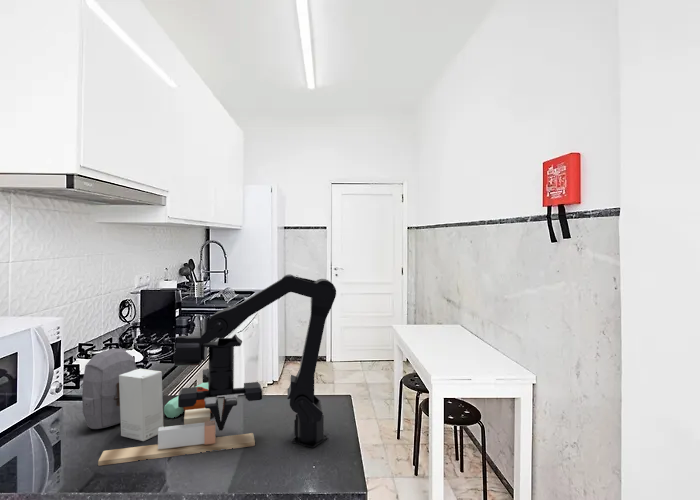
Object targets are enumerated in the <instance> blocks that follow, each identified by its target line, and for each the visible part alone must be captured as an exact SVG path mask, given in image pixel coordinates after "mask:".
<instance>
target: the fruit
mask: <svg viewBox="0 0 700 500" xmlns="http://www.w3.org/2000/svg"><path fill="white" fill-rule="evenodd" d="M198 391H209V390H208V389H205V388H203V387H197V392H198ZM202 408H205V399H204V400H196V404H195V405H194V406H192V407H183V409H184V411H185V410H192V409H202ZM210 414H212V412H211V410H210Z"/></svg>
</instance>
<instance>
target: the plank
mask: <svg viewBox="0 0 700 500" xmlns="http://www.w3.org/2000/svg"><path fill="white" fill-rule="evenodd" d="M255 442H256V440H255V437H254V433H253V432H249V433H243V434H242V433H241V434H233V435H226V436H217V437H216V436H215V443H214V444H206V445H205V444H199V445H190V446H182V447H174V448H166V449H158V443H157V444H149V445H139V446H134V447H133V446H132V447H131V446H130V447H125V448H115V449H109V450H108V449H107V450H103V451H102V453H101V455H100V457H99V459H98V462H97V465H98V466H100V467H101V466H107V465H116V464H123V463H129V462H130V463H131V462H139V461H138V460H140V461H145V460H146V459H148V460H154V459H162V458H163V459H164V458H170V457H177V456H185V454H187V455H192V454H193V455H194V454H201V453H200V452H202V453H207V452H206V451H210V452H213V451H212V450H218V451H222V450H221V449H226V450H232V448H233V449H240V448H246V447H247V448H248V447H255V445H256V444H255ZM146 461H147V460H146Z"/></svg>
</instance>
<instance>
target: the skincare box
mask: <svg viewBox="0 0 700 500" xmlns="http://www.w3.org/2000/svg"><path fill="white" fill-rule="evenodd" d="M162 374H163V372H162V371H160V370H152V369H146V368H137V369H136V370H133V371H130V372H128V373H124V374H121V375H119V390H120V418H121V423H120V437H124V438H129V439H131V440H132V439H133V440H136V441H140V442H145V441H147V440H150V439H151V438H152V439H153V438H154V437H156V436H158V429H159V427H164V405H163V402H164V401H163V399H164V398H163V379H162V378H163V377H162V376H163V375H162Z"/></svg>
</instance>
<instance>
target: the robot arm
mask: <svg viewBox="0 0 700 500" xmlns="http://www.w3.org/2000/svg"><path fill="white" fill-rule="evenodd" d="M289 293H292V294H293V293H295V294H297V295H300V296H304V297H308V298H310V316H309V320H308V326H307V329H306V330H307V331H306V335H305V341H304V345H303V350H302V354H301V361H300V364H299V368H298V372H297V373H296V375H293V374H290V382H289V386H288V388H287V390H286V391H287V395H286V397H287V400H289V407H290V409H291V410H292V411H293V412H294V413H295V419H294V424H293V425H294V428H293V430H294V433H293V435H294V437H293V438H291V443H294V444H297V445H300V446H303V447H307V448H311V449H313V448H315V447H316V446H318V445H319V444H322V443H323V442H324V441H326V440H327V439H328V436H327V435H325V433H324V429H325V426H324V423H325V422H324V421H325V417H324V416H325V415H324V412H323V407H322V404H321V403H322V402H321V399H319V398H318V397H317V396H316V395H315V374H316V368H317V363H318V359H319V354H320V348H321V343H322V340H323V339H322V338H323V334H324V329H325V324H326V320H327V318H328V315H329V313H330V311H331V309H332V307H333V305H334V302H335V300H336V299H335V298H336V297H337V288H336V286H335V285H334V283H332V282H331V281H330V280H328V279H326V278H319V279H317V280H314V279H309V278H305V277H301V276H295V275H294V274H285V275H284V276H282V278H280V279H279V280H277V281H275V282H273V283H272V284H271V285H269V286H267V287H266V288H264V289H262V290H260V291H258V292H257V293H255V294H254V295H252V296H251V297H248V299H245V300H244V301H242V302H240V303H237V304H234V305H233V304H232V305H231V306H228V307H225V308H222V309H220V310H218V311H216V312H215V313H214V314H213V315H211V316H210V317H209V319H208V320H207V327H206V328H207V329H206V330H205V331H203V333H201V335H200V336H187V335H179V336H178V337H176V343H175V346H174V347H175V348H174V352H173V364H174V366H175V367H182V366H183V367H184V366H185V367H186V366H188V367H189V366H201V365H202V363H203V362H206V361H207V359H208V368H207V369H206V368H205V369H202V383H208V389H209V391H198V392H197V387H196V386H193V387H181V389H180V390H179V392H178V395H177V396H178V407H192V406H194V405H195V404H196V400H204V399H205V408H206V409H208V408H209V409H210V410H211V414H212V416H213V418H214V421H215V424H216V426H217V428H218V431H219V432H222V431H223V430H224V428H225V424H226V422H227V419H228V417H229V414H230V412H231V411H232V409H233V407H236V406H237V405H238V397H245V399H246V400H247V401H248V402H253V401H254V402H256V401H261V400H262V399H263V389H262V386H261V384H260V382H259V381H255V382H254V381H252V382H244V383H243V387H234V383H235V382H234V377H235V375H234V372H235V371H234V370H235V367H234V366H235V364H234V363H235V361H234V360H235V359H234V357H235V351H234V350H235V347H241V345H242V344H243V340H242V339H241V338H239V337H238V336H237V334H233V336H232V337H227V336H229V335H230V334H231V333H233V331H235V330H236V329H237V328H238V327H239V326H240V325H241V324H242V323H243V322H245V321H246V320H247V319H248V318H249V317H251V316H253V315H255V314H256V313H258V312H259V311H261V310H263V309H264V308H266V307H267V306H269V305H271V304H272V303H274V302H275V301H277V300H279V299H280V298H282V297H284V296H286V295H287V294H289ZM215 339H218V340H217V341H214V340H215ZM219 399H223V403H222V411H221V413H220V405H219Z"/></svg>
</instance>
